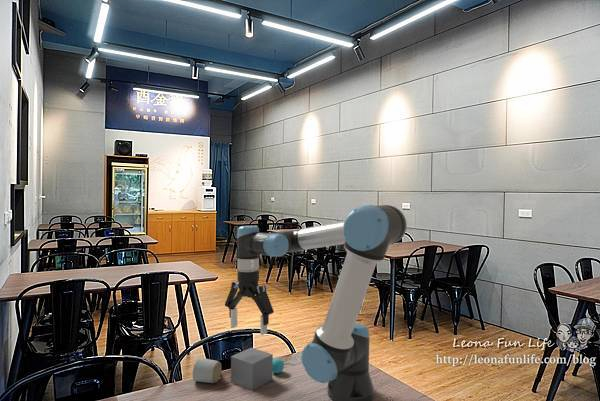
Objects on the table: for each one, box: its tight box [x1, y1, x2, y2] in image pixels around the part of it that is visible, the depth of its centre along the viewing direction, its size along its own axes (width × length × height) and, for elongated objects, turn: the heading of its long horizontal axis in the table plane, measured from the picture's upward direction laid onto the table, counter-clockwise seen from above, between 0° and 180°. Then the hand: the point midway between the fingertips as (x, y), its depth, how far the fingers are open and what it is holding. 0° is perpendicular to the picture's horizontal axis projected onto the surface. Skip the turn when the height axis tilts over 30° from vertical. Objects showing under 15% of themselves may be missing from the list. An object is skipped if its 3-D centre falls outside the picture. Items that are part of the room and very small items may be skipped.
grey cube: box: [230, 347, 274, 391], centre depth 139 cm, size 10×10×9 cm
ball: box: [273, 358, 285, 374], centre depth 145 cm, size 5×5×5 cm
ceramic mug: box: [192, 357, 223, 384], centre depth 140 cm, size 11×8×8 cm
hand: (248, 330), depth 140 cm, fingers open, 13 cm apart
